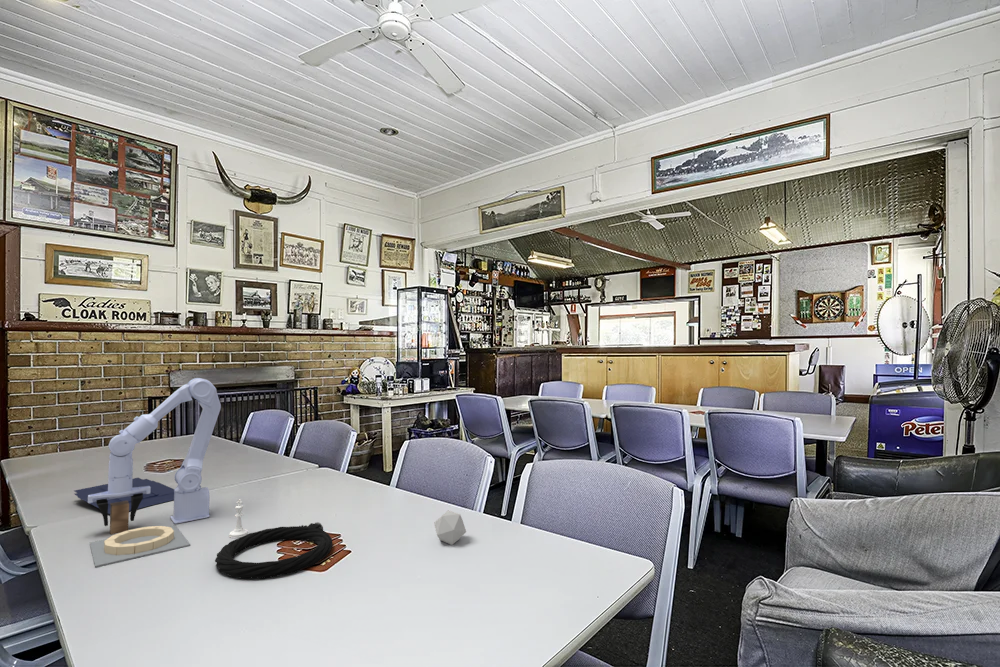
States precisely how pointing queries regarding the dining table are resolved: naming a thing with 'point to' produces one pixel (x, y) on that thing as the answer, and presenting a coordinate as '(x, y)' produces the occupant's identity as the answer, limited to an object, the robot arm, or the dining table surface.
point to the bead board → (120, 558)
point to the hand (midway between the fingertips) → (119, 522)
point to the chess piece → (238, 523)
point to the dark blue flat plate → (156, 496)
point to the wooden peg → (119, 517)
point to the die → (450, 527)
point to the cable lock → (274, 567)
